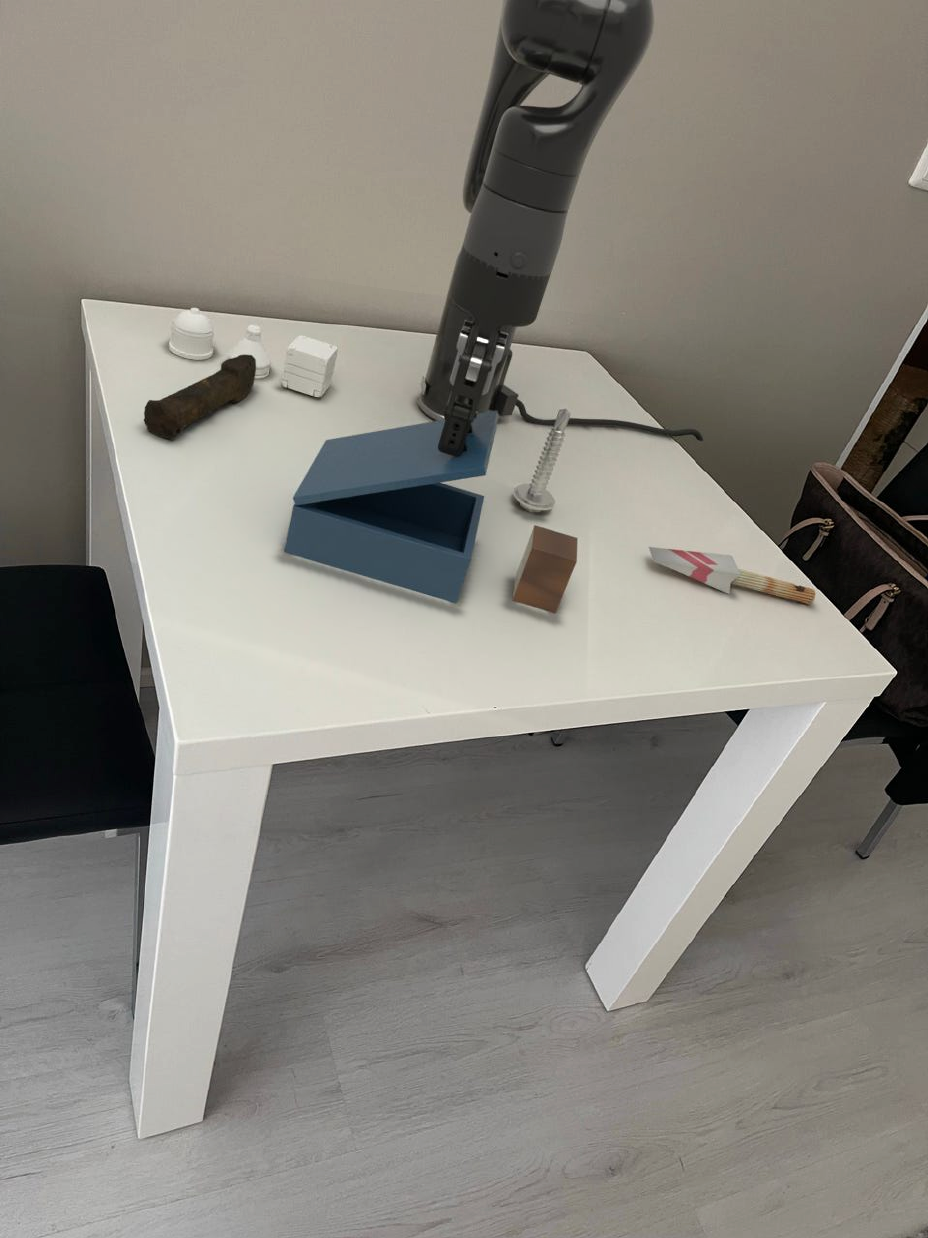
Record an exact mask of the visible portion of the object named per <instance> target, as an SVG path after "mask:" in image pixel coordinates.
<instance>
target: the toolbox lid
mask: <svg viewBox="0 0 928 1238" xmlns="http://www.w3.org/2000/svg"><path fill="white" fill-rule="evenodd" d="M451 392H452V391H451ZM450 396H451V394H450ZM449 400H450V397H449ZM449 400H448V403H449ZM469 400H470V398H467V397H464V396H461V395H458V396H457V397H456V400H455V401H459V402H462V403H466V404H469ZM446 416H447V414H446V410H445V411H444V418H445V420H446ZM499 419H500V417H499V415H498V412H497V411H491V412H485V413H479V414H477V417H476V419H474V421H473V422H471V425H470V429H469V432H468V435H467V439H466V442H465V445H464V448H463V452H462V454H461V455H460V456H459V457H455V456H452V455H448V454H445V453H442V452H440V451H439V450H438V444H439V441H440V437H441V434H442V430H443V427H444V423H445V420H439V421H436V420H433V421H428V422H424V423H423V422H422V423H417V424H411V425H406V426H405V425H404V426H398V427H394V428H388V429H387V428H386V429H382V430H375V431H370V432H365V433H359V434H351V435H348V436H342V437H335V438H330V439H326V440H325V441H324V442H323V444H322V446H321V448H320V449H319V451H318V453H317V455H316V456H315V459H314V460H313V462H312V463H311V465H310V467H309V469H308V470H307V472H306V474H305V476H304V477H303V479H302V481H301V483H300V484H299V486H298V488H297V490H296V491H295V493H294V495H293V496H292V500H293V503H294V504H295V505H302V504H308V503H314V502H321V501H327V500H333V499H340V498H346V497H352V496H359V495H365V494H371V493H378V492H384V491H390V490H396V489H403V488H409V487H415V486H422V485H428V484H434V483H446V482H452V481H459V480H467V479H472V478H478V477H484V476H487V473H488V467H489V463H490V459H491V454H492V449H493V445H494V441H495V436H496V432H497V427H498V423H499Z"/></svg>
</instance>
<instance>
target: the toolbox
mask: <svg viewBox="0 0 928 1238" xmlns="http://www.w3.org/2000/svg"><path fill="white" fill-rule="evenodd" d="M484 501H485V495H482V494H480V493H476V492H472V491H470V490H466V489H463V488H459V487H456V486H453V485H449V484H447V483H444V482H441V483H434V484H428V485H422V486H415V487H409V488H403V489H396V490H390V491H384V492H378V493H371V494H365V495H359V496H352V497H346V498H340V499H333V500H327V501H321V502H314V503H308V504H302V505H295V503H294V504H293V506H292V510H291V515H290V521H289V525H288V531H287V535H286V540H285V547H284V553H285V554H288V555H292V556H295V557H298V558H303V559H306V560H309V561H312V562H316V563H319V564H322V565H326V566H329V567H332V568H335V569H338V570H342V571H346V572H349V573H353V574H355V575H359V576H362V577H366V578H369V579H373V580H376V581H379V582H382V583H386V584H389V585H392V586H396V587H399V588H403V589H406V590H409V591H412V592H416V593H420V594H423V595H426V596H430V597H433V598H436V599H440V600H443V601H447V602H449V603H453V604H457V602H458V600H459V597H460V594H461V590H462V588H463V585H464V582H465V578H466V576H467V572H468V570H469V566H470V563H471V561H472V556H473V551H474V548H475V547H474V546H475V542H476V539H477V534H478V529H479V524H480V519H481V516H482V515H481V514H482V511H483V505H484Z"/></svg>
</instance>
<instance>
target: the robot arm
mask: <svg viewBox="0 0 928 1238" xmlns="http://www.w3.org/2000/svg"><path fill="white" fill-rule="evenodd" d="M498 24H499V25H498V30H497V36H496V41H495V47H494V52H493V58H492V63H491V64H492V65H491V69H490V74H489V78H488V82H487V86H486V90H485V94H484V97H483V98H484V99H483V102H482V105H481V110H480V114H479V118H478V121H477V125H476V129H475V133H474V137H473V140H472V144H471V149H470V152H469V156H468V159H467V164H466V169H465V173H464V179H463V185H462V204H463V208H464V209H465V210H466V211H467V212H468V214H470V216H469V221H468V223H467V228H466V231H465V235H464V238H463V241H462V245H461V249H460V251H459V252H458V255H457V257H456V258H455V259H456V260H455V263H454V268H453V271H452V275H451V279H450V283H449V286H448V291H447V295H446V298H445V302H444V306H443V310H442V314H441V318H440V321H439V325H438V328H437V333H436V336H435V341H434V344H433V348H432V352H431V355H430V359H429V362H428V367H427V371H426V373H425V377H424V376H422V379H421V382H420V388H421V392H420V394H419V398H418V402H417V404H418V407H419V408H420V410H421V411H422V412H423V414H425V415H426V416H427V417H430V418H431V419H433V420H434V421H439V420H445V418H444V411H445V410H446V414H447V416H446V420H445V423H444V427H443V430H442V434H441V437H440V441H439V444H438V450H439V451H440V452H442V453H445V454H448V455H452V456H455V457H459V456H460V455H461V454H462V452H463V448H464V445H465V442H466V439H467V435H468V432H469V429H470V425H471V422H473V421H474V419H476V417H477V414H479V413H485V412H491V411H497V412H498V416H500V417H502V418H503V417H508V416H512V415H513V413H514V410H515V407H517V408H518V411H519V415H520V417H521V418H522V419H523V420H525V421H527V422H528V423H530V424H534V425H540V426H549V427H550V426H551V427H553V426H554V423H555V420H556V418H555V419H540V418H536V417H534V416H532V415H530V413H529V414H528V412H527V409H526V406H525V404H524V403H523V401H521V400H520V399H519V394H518V393H517V392H515V391H514V390H513V389H511V388H510V387H508V386H506V385H505V381H506V377H507V374H508V371H509V367H510V364H511V361H512V358H513V350H512V349H511V347H512V343H513V340H514V336H515V334H516V330H517V328H521V327H528V326H530V325H532V324H533V323H534V322H535V321H536V320H537V317H538V315H539V312H540V308H541V306H542V302H543V300H544V296H545V293H546V290H547V287H548V285H549V281H550V278H551V275H552V271H553V270H554V269H553V268H554V266H555V262H556V260H557V257H558V256H557V255H558V253H559V250H560V247H561V244H562V240H563V236H564V232H565V231H564V230H565V225H566V220H567V216H568V212H569V209H570V206H571V203H572V200H573V198H574V197H573V196H574V194H575V191H576V187H577V185H578V181H579V179H580V175H581V173H582V169H583V166H584V164H585V162H586V159H587V156H588V153H589V152H590V149H591V147H592V145H593V142H594V140H595V138H596V136H597V134H598V133H599V131H600V129H601V127H602V125H603V124H604V122H605V120H606V118H607V116H608V115H609V113H610V111H611V109H612V108H613V106H614V105H615V103H616V101H617V100H618V99H619V97H620V95H621V94H622V93H623V91H624V89H625V88H626V87H627V85H628V83H629V82H630V80H631V78H632V77H633V75H635V73H636V71H637V69H638V67H639V66H640V64H641V62H642V60H643V59H644V57H645V55H646V54H647V51H648V49H649V46H650V43H651V41H652V37H653V32H654V29H655V9H654V3H653V0H503V1H502V6H501V12H500V19H499V23H498ZM550 75H551V76H554V77H557V78H560V79H564V80H565V81H569V82H572V83H575V84H578V85H581V87H580V89H579V91H578V92H577V93H576V94H575V95H574V97H573V98H571V99H570V100H569V101H568V102H566V103H564V104H562V105H559V106H534V105H522V104H523V103H524V102H525V101H526V99H527V98H528V97H529V96H530V95H531V94H532V92H533V91H534V90H536V88H537V87H538V86H540V84H541V83H543V81H544V80H546V78H548V77H549V76H550ZM451 391H452V392H451ZM450 394H451V396H450ZM458 395H461V396H464V397H467V398H470V400H469V404H466V403H462V402H459V401H455V400H456V397H457V396H458ZM449 397H450V400H449ZM448 400H449V403H448ZM567 425H578V426H607V427H620V428H625V429H633V430H636V431H637V430H638V431H642V432H647V433H652V434H656V435H662V436H666V437H682V436H690V435H692V436H694V437H695V438H696V440H697V441H699V442H703V441H704V437H703V436H702V434H701V433H700V431H699V430H697V429H694V428H684V429H677V430H676V429H674V430H672V429H666V428H661V427H660V428H659V427H656V426H652V425H651V426H650V425H647V424H643V423H642V424H641V423H638V422H632V421H627V420H619V419H618V420H617V419H607V418H579V417H570V418H569V420H568V423H567Z"/></svg>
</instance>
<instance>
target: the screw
mask: <svg viewBox="0 0 928 1238" xmlns="http://www.w3.org/2000/svg"><path fill="white" fill-rule="evenodd" d="M569 418H571V412H570V411H569V410H568V409H567V408H562V409H561V408H560V409H559V410H558V413H557V414H556V418H555V419H556V420H555V423H554V426H551V427H550V431H549V432H548V433H547V434H548V436H547V437H546V441H544V445H545V446H543V447H542V449H543V450H542V451H541V455H540V456H539V459H540V460H537V463H538V464H537V465H536V469H534V474H533V475H532V477H533V478H531V483H522V484H519V485H517V486H515V487H513V488H514V489H513V492H512V494H513V497H514V498H515V499H516V500H517V502H519V506H520V507H521V508H523V509H525V510H526V511H527V512H528V513H541V512H542V511H548V510H552V509H553V508H554V506H555V504H556V499H555V498H554V497H553V495H552V493H551V492H550V491H549V490H547V488H548V487H547V486H548V484H549V480H550V479H551V476H552V475H553V473H552V472H553V471H554V467H555V466H556V462H557V461H558V459H557V458H558V457H559V453H560V452H561V448H562V447H563V443H564V441H565V439H564V438H565V437H566V433H565V431H566V428H567V425H568V424H567V423H568V420H569Z"/></svg>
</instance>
